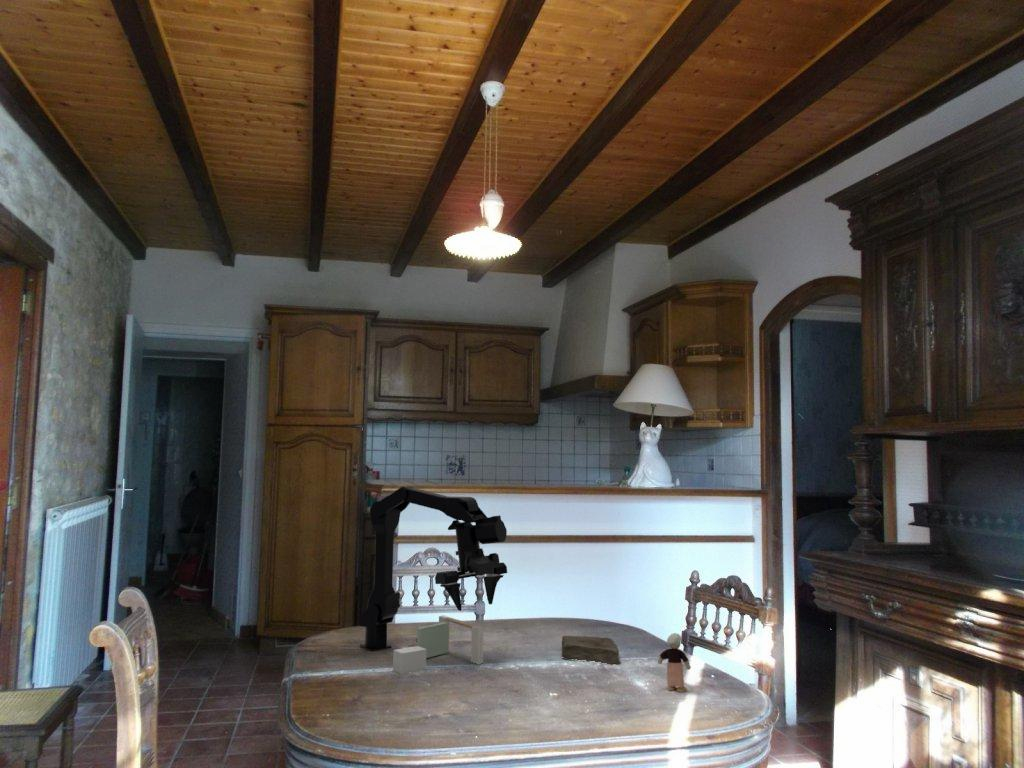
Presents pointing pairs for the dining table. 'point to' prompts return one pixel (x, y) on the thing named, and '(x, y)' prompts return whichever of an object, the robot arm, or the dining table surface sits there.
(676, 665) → the grandmother figurine
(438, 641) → the door
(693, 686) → the dining table surface
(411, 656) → the block
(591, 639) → the brown stone slab
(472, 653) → the wall frame
